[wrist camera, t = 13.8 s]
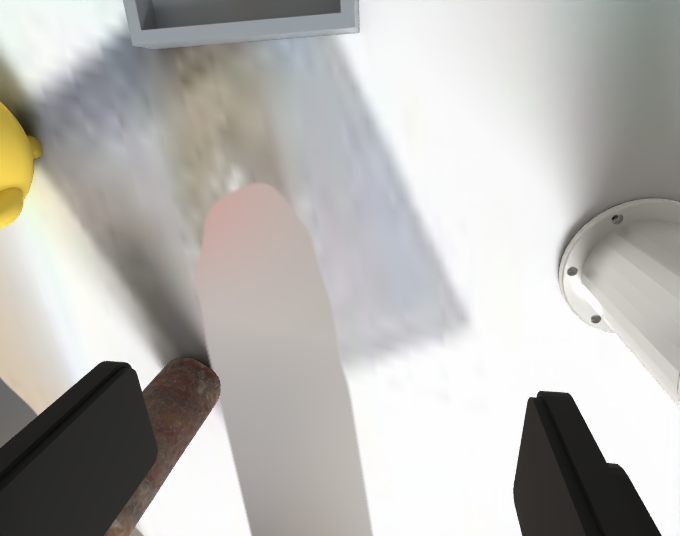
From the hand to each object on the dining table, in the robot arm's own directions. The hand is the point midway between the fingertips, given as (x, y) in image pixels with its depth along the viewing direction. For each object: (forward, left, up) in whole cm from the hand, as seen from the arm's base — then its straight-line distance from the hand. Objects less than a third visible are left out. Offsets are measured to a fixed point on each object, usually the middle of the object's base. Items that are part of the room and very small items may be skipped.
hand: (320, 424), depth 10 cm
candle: (+23, +23, -30) cm, 45 cm away
